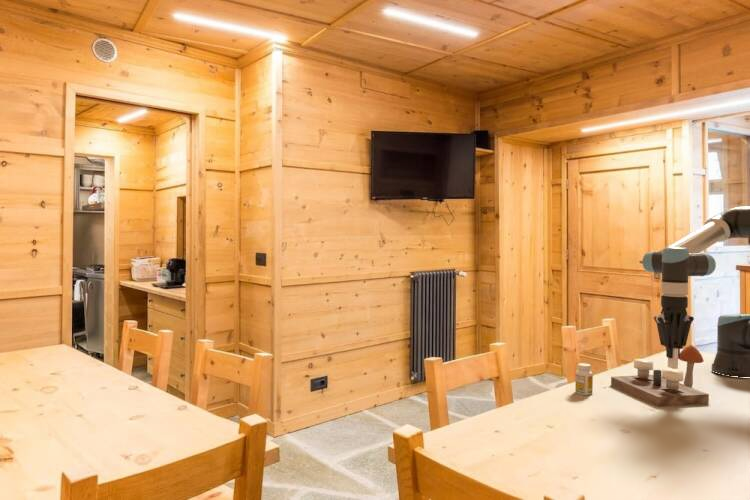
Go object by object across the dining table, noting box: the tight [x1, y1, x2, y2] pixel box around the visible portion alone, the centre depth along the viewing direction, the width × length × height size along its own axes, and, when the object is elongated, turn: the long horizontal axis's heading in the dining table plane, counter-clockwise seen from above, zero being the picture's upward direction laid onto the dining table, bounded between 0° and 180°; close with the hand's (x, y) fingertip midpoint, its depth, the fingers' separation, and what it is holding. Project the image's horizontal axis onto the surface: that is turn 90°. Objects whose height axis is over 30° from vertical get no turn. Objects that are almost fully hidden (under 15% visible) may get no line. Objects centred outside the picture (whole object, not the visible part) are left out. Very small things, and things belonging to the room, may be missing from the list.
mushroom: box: [678, 344, 705, 388], centre depth 187 cm, size 8×8×15 cm
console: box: [610, 374, 710, 408], centre depth 179 cm, size 18×24×3 cm
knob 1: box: [633, 358, 654, 378], centre depth 186 cm, size 6×6×6 cm
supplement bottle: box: [575, 362, 594, 396], centre depth 180 cm, size 5×5×10 cm
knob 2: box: [661, 368, 684, 390], centre depth 172 cm, size 6×6×6 cm
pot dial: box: [652, 368, 662, 386], centre depth 179 cm, size 2×2×5 cm
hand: (672, 367), depth 172 cm, fingers closed
